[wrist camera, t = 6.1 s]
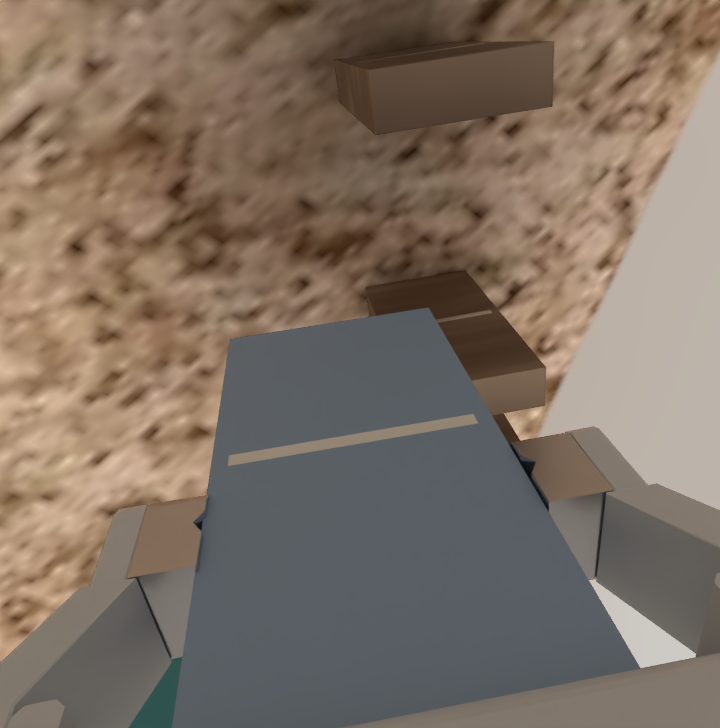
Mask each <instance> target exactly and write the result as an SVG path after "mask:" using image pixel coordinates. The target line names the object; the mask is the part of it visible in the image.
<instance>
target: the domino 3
mask: <svg viewBox="0 0 720 728" xmlns="http://www.w3.org/2000/svg"><path fill="white" fill-rule="evenodd" d="M207 495H210V498H209V505H208V512H207V517H206V518H205V519H204V520H203V523H202V529H201V532H202V534H203V537H204V540H203V546H202V553H201V559H200V566H199V572H196V573H195V576H194V583H193V589H192V596H191V603H190V609H189V616H188V623H187V629H186V636H185V643H184V649H183V656H182V663H181V669H180V676H179V683H178V689H177V696H176V703H175V710H174V716H173V723H172V728H343V727H348V726H353V725H358V724H363V723H368V722H373V721H378V720H383V719H388V718H393V717H398V716H403V715H408V714H414V713H419V712H424V711H429V710H434V709H439V708H444V707H449V706H454V705H459V704H464V703H469V702H474V701H479V700H484V699H489V698H494V697H499V696H504V695H509V694H514V693H519V692H525V691H530V690H535V689H540V688H545V687H550V686H555V685H560V684H565V683H570V682H575V681H580V680H585V679H590V678H595V677H600V676H605V675H610V674H615V673H620V672H625V671H630V670H635V669H640V667H639V665H638V663H637V662H636V660H635V658H634V657H633V655H632V653H631V652H630V650H629V648H628V646H627V645H626V643H625V641H624V639H623V638H622V636H621V634H620V633H619V631H618V629H617V628H616V626H615V624H614V623H613V621H612V619H611V617H610V616H609V614H608V612H607V611H606V609H605V607H604V605H603V604H602V602H601V600H600V599H599V597H598V595H597V594H596V592H595V590H594V588H593V587H592V585H591V583H590V582H589V580H588V578H587V576H586V575H585V573H584V571H583V570H582V568H581V566H580V565H579V563H578V561H577V559H576V558H575V556H574V554H573V553H572V551H571V549H570V548H569V546H568V544H567V542H566V541H565V539H564V537H563V536H562V534H561V532H560V531H559V529H558V527H557V525H556V524H555V522H554V520H553V519H552V517H551V515H550V513H549V512H548V510H547V508H546V507H545V505H544V503H543V502H542V500H541V498H540V496H539V495H538V493H537V491H536V490H535V488H534V486H533V485H532V483H531V481H530V479H529V478H528V476H527V474H526V473H525V471H524V469H523V468H522V466H521V464H520V462H519V461H518V459H517V457H516V456H515V454H514V452H513V451H512V449H511V447H510V445H509V444H508V442H507V440H506V439H505V437H504V435H503V433H502V432H501V430H500V428H499V427H498V425H497V423H496V422H495V420H494V418H493V416H492V415H491V413H490V411H489V410H488V408H487V406H486V405H485V403H484V401H483V399H482V398H481V396H480V394H479V393H478V391H477V389H476V388H475V386H474V384H473V382H472V381H471V379H470V377H469V376H468V374H467V372H466V370H465V369H464V367H463V365H462V364H461V362H460V360H459V359H458V357H457V355H456V353H455V352H454V350H453V348H452V347H451V345H450V343H449V342H448V340H447V338H446V336H445V335H444V333H443V331H442V330H441V328H440V326H439V325H438V323H437V321H436V319H435V318H434V316H433V314H432V313H431V311H430V309H429V308H422V309H416V310H410V311H403V312H397V313H391V314H385V315H378V316H372V317H366V318H360V319H353V320H347V321H341V322H334V323H328V324H322V325H316V326H309V327H303V328H297V329H290V330H284V331H278V332H272V333H265V334H259V335H253V336H246V337H240V338H234V339H230V342H229V349H228V356H227V362H226V369H225V376H224V382H223V389H222V396H221V403H220V409H219V416H218V423H217V429H216V436H215V443H214V449H213V456H212V463H211V469H210V476H209V483H208V489H207Z"/></svg>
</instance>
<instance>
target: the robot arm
mask: <svg viewBox="0 0 720 728" xmlns="http://www.w3.org/2000/svg"><path fill="white" fill-rule="evenodd" d="M509 445H510V447H511V449H512V451H513V452H514V454H515V456H516V457H517V459H518V461H519V462H520V464H521V466H522V468H523V469H524V471H525V473H526V474H527V476H528V478H529V479H530V481H531V483H532V485H533V486H534V488H535V490H536V491H537V493H538V495H539V496H540V498H541V500H542V502H543V503H544V505H545V507H546V508H547V510H548V512H549V513H550V515H551V517H552V519H553V520H554V522H555V524H556V525H557V527H558V529H559V531H560V532H561V534H562V536H563V537H564V539H565V541H566V542H567V544H568V546H569V548H570V549H571V551H572V553H573V554H574V556H575V558H576V559H577V561H578V563H579V565H580V566H581V568H582V570H583V571H584V573H585V575H586V576H587V578H588V580H593V579H597V580H596V582H598V583H599V584H601V585H602V586H603V587H605V588H606V589H608V590H609V591H610V592H612V593H613V594H614V595H616V596H617V597H619V598H620V599H621V600H623V601H624V602H625V603H627V604H628V605H630V606H631V607H633V608H634V609H635V610H637V611H638V612H639V613H641V614H642V615H643V616H645V617H646V618H648V619H649V620H650V621H652V622H653V623H655V624H656V625H657V626H659V627H660V628H661V629H663V630H664V631H666V632H667V633H668V634H670V635H671V636H673V637H674V638H675V639H677V640H678V641H679V642H681V643H682V644H683V645H685V646H686V647H688V648H689V649H690V650H692V651H693V652H695V653H696V657H695V658H690V659H686V660H681V661H675V662H670V663H665V664H660V665H656V666H650V667H645V668H640V669H635V670H630V671H625V672H620V673H615V674H610V675H605V676H600V677H595V678H590V679H585V680H580V681H575V682H570V683H565V684H560V685H555V686H550V687H545V688H540V689H535V690H530V691H525V692H519V693H514V694H509V695H504V696H499V697H494V698H489V699H484V700H479V701H474V702H469V703H464V704H459V705H454V706H449V707H444V708H439V709H434V710H429V711H424V712H419V713H414V714H408V715H403V716H398V717H393V718H388V719H383V720H378V721H373V722H368V723H363V724H358V725H353V726H348V727H343V728H720V510H717V509H715V508H713V507H710V506H708V505H706V504H703V503H701V502H699V501H696V500H694V499H691V498H689V497H686V496H684V495H682V494H680V493H677V492H675V491H673V490H670V489H668V488H665V487H663V486H661V485H659V484H652V485H647V484H646V482H645V481H644V480H643V479H642V478H641V477H640V475H639V474H638V473H637V472H636V471H635V470H634V468H632V466H631V465H630V464H629V463H628V462H627V460H626V459H625V458H624V457H623V456H622V455H621V453H620V452H619V451H618V450H617V449H616V448H615V446H613V444H612V443H611V442H610V441H609V440H608V438H607V437H606V436H605V435H604V434H603V433H602V432H601V430H600V429H598V428H596V427H594V426H593V427H588V428H583V429H578V430H573V431H568V432H565V433H562V434H556V435H550V436H545V437H539V438H534V439H528V440H523V441H517V442H511V443H509ZM209 498H210V495H206V496H199V497H192V498H186V499H179V500H173V501H166V502H160V503H153V504H150V505H142V506H136V507H130V508H124V509H120V510H119V511H118V512H116V513H115V515H114V516H113V519H112V522H111V525H110V528H109V531H108V534H107V537H106V540H105V542H104V545H103V548H102V551H101V554H100V557H99V560H98V563H97V566H96V568H95V571H94V574H93V577H92V580H91V583H90V586H88V587H83V588H79V589H78V590H77V591H76V592H75V593H74V594H73V595H72V596H71V597H70V598H69V599H68V600H67V601H66V602H65V603H63V604H62V605H61V606H60V607H59V608H58V609H57V610H56V611H55V612H54V613H53V614H52V615H51V616H50V617H48V618H47V619H46V620H45V621H44V622H43V623H42V624H41V625H40V626H39V627H38V628H37V629H36V630H35V631H33V632H32V633H31V634H30V635H29V636H28V637H27V638H26V639H25V640H24V641H23V642H22V643H21V644H20V645H19V646H17V647H16V648H15V649H14V650H13V651H12V652H11V653H10V654H9V655H8V656H7V657H6V658H5V659H4V660H2V661H1V662H0V728H128V727H129V726H130V724H131V723H132V721H133V720H134V718H135V717H136V715H137V714H138V712H139V711H140V709H141V708H142V706H143V705H144V703H145V702H146V700H147V699H148V697H149V696H150V694H151V693H152V691H153V690H154V688H155V687H156V685H157V684H158V682H159V681H160V679H161V678H162V676H163V675H164V673H165V672H166V670H167V669H168V667H169V666H170V664H171V663H172V662H171V659H175V658H179V657H182V656H183V649H184V643H185V636H186V629H187V623H188V616H189V609H190V603H191V596H192V589H193V583H194V576H195V573H196V572H199V566H200V559H201V553H202V546H203V540H204V537H203V534H202V532H201V529H202V523H203V520H204V519H205V518H206V517H207V512H208V505H209Z"/></svg>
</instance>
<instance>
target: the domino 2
mask: <svg viewBox="0 0 720 728" xmlns="http://www.w3.org/2000/svg"><path fill="white" fill-rule="evenodd" d="M366 296H367V303H368V310H369V317H372V316H378V315H385V314H391V313H397V312H403V311H410V310H416V309H422V308H429V309H430V311H431V313H432V314H433V316H434V318H435V319H436V321H437V323H438V325H439V326H440V328H441V330H442V331H443V333H444V335H445V336H446V338H447V340H448V342H449V343H450V345H451V347H452V348H453V350H454V352H455V353H456V355H457V357H458V359H459V360H460V362H461V364H462V365H463V367H464V369H465V370H466V372H467V374H468V376H469V377H470V379H471V381H472V382H473V384H474V386H475V388H476V389H477V391H478V393H479V394H480V396H481V398H482V399H483V401H484V403H485V405H486V406H487V408H488V410H489V411H490V413H491V415H497V414H502V413H507V412H513V411H518V410H524V409H529V408H534V407H540V406H545V386H546V367H545V366H544V364H543V363H542V362H541V361H540V360H539V358H538V357H537V356H536V355H535V354H534V352H533V351H532V350H531V349H530V348H529V346H528V345H527V344H526V343H525V342H524V340H523V339H522V338H521V337H520V336H519V334H518V333H517V332H516V331H515V330H514V328H513V327H512V326H511V325H510V324H509V322H508V321H507V320H506V319H505V318H504V316H503V315H502V314H501V313H500V312H499V310H498V309H497V308H496V307H495V306H494V304H493V303H492V302H491V301H490V300H489V298H488V297H487V296H486V295H485V294H484V292H483V291H482V290H481V289H480V288H479V286H478V285H477V284H476V283H475V282H474V280H473V279H472V278H471V277H470V276H469V274H468V273H467V272H466V271H465V270H464V271H458V272H452V273H447V274H441V275H435V276H429V277H424V278H418V279H412V280H406V281H401V282H395V283H389V284H383V285H377V286H372V287H366Z"/></svg>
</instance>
